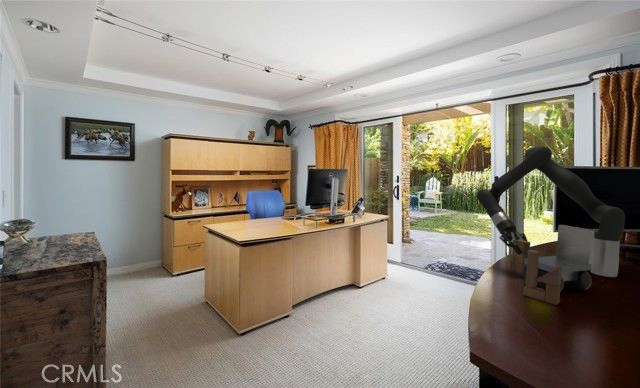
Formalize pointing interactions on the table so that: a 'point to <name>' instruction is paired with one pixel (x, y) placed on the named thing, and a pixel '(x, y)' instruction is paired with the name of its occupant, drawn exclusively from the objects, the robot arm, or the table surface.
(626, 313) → the table surface
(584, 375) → the table surface
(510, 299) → the table surface
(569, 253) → the trolley
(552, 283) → the tan wooden frame
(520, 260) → the block
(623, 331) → the table surface
